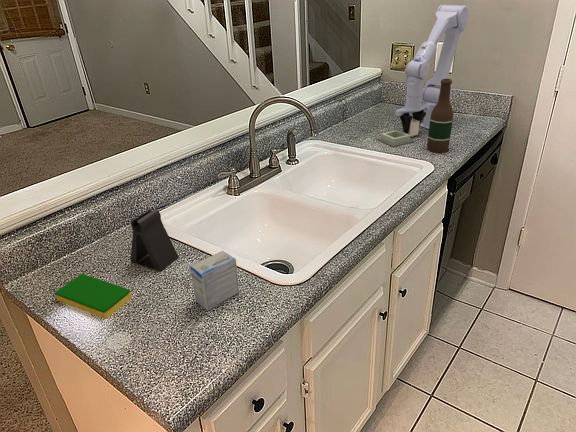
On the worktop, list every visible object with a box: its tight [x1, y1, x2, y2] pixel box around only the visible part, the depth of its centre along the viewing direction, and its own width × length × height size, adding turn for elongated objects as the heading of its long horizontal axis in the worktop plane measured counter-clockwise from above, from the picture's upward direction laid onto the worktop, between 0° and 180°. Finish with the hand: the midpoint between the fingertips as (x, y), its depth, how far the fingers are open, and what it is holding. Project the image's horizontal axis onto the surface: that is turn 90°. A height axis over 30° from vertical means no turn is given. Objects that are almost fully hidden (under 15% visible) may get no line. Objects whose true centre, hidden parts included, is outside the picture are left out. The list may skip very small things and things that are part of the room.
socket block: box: [375, 129, 416, 148], centre depth 166 cm, size 10×10×2 cm
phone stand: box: [130, 207, 179, 273], centre depth 100 cm, size 9×6×12 cm, turn 63°
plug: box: [402, 118, 420, 138], centre depth 169 cm, size 4×4×6 cm
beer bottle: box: [426, 78, 454, 154], centre depth 152 cm, size 8×8×24 cm
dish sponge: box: [54, 273, 132, 319], centre depth 91 cm, size 7×14×2 cm, turn 64°
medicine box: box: [189, 250, 240, 311], centre depth 88 cm, size 8×4×9 cm, turn 133°
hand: (410, 131), depth 170 cm, fingers closed on plug, 4 cm apart
